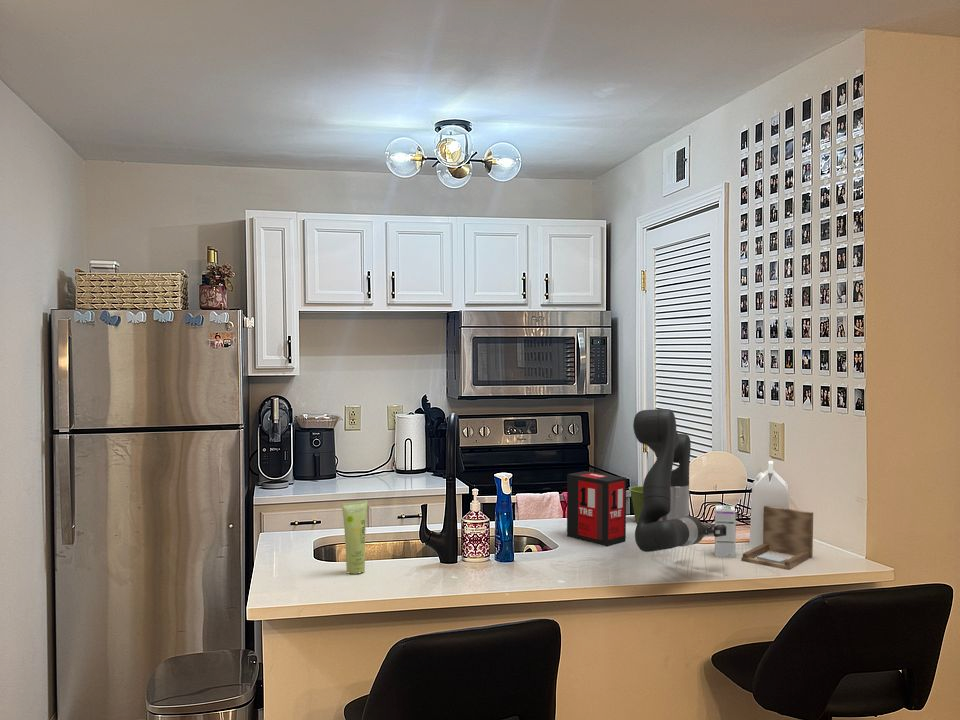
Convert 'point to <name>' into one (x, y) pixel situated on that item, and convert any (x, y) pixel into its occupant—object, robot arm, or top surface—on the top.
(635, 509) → the plant pot
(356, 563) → the tube
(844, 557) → the top surface
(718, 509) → the syrup box
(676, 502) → the robot arm
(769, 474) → the milk
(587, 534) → the cleaning product box
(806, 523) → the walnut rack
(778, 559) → the grey offcut
